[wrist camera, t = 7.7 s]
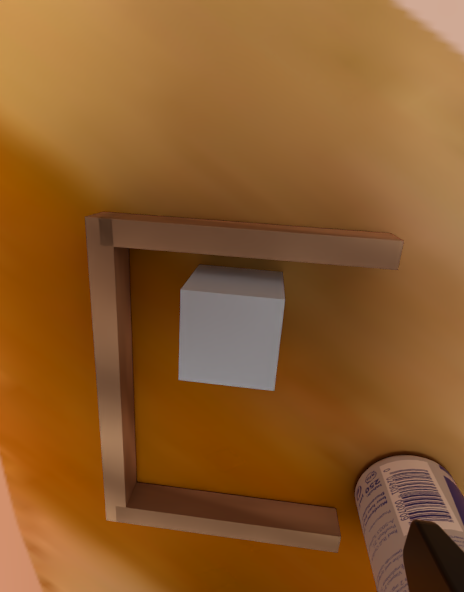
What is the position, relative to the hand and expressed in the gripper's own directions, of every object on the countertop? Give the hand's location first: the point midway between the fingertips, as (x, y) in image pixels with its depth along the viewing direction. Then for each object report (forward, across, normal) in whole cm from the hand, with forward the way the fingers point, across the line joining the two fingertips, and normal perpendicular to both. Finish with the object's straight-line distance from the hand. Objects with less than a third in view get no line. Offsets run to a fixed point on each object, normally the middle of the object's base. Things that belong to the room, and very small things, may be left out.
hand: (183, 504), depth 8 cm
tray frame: (+12, 0, +5) cm, 13 cm away
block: (+12, 0, 0) cm, 12 cm away
